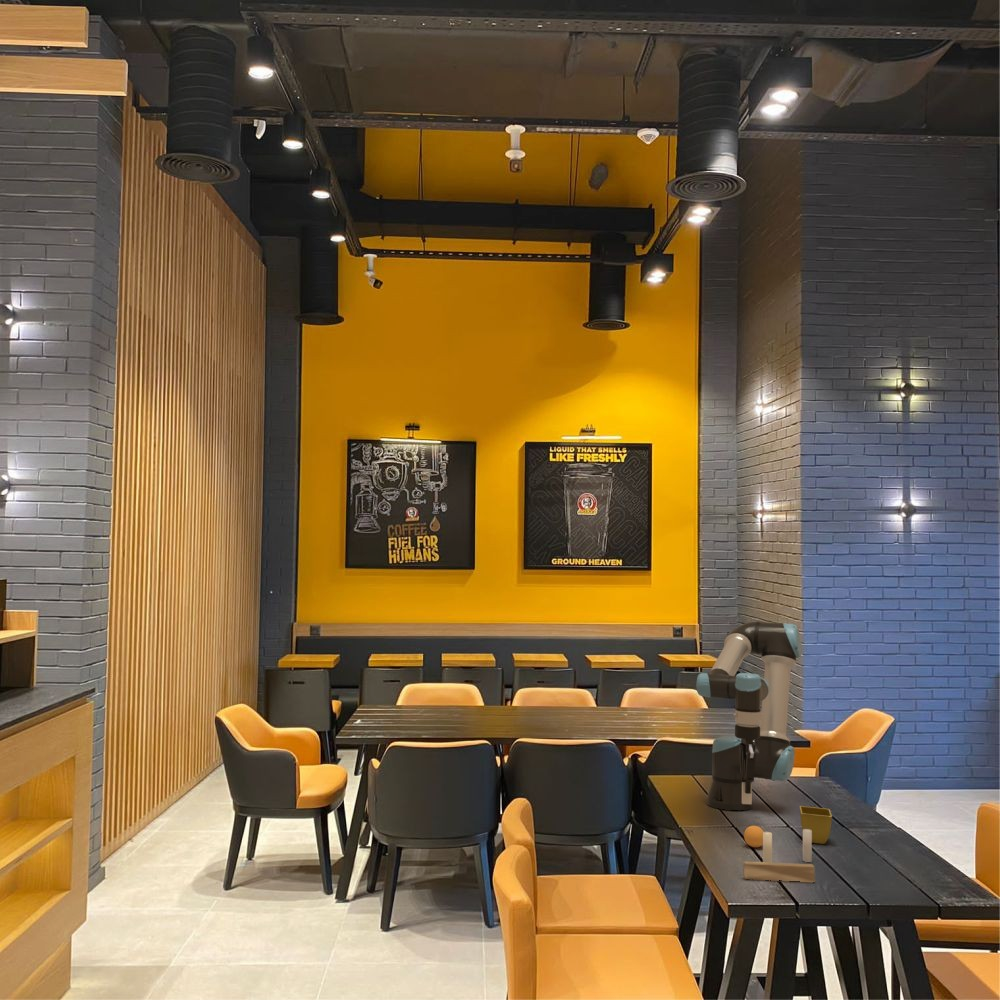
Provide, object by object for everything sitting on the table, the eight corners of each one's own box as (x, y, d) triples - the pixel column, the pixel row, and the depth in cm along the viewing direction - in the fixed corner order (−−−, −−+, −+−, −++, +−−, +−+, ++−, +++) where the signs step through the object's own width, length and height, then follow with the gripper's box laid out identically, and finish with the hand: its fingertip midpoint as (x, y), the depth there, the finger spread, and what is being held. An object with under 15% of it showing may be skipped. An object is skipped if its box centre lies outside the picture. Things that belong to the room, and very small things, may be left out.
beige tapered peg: (801, 859, 253) (801, 828, 254) (810, 860, 253) (810, 829, 254) (804, 862, 251) (804, 831, 251) (812, 862, 251) (812, 831, 251)
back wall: (743, 876, 238) (743, 861, 238) (812, 879, 237) (812, 864, 238) (745, 879, 236) (745, 864, 236) (814, 882, 235) (814, 866, 236)
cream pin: (761, 862, 250) (762, 831, 250) (770, 863, 250) (770, 831, 250) (764, 865, 247) (764, 834, 248) (772, 866, 247) (773, 834, 248)
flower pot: (829, 838, 274) (829, 808, 274) (832, 847, 265) (832, 816, 266) (799, 835, 276) (799, 805, 277) (800, 844, 268) (800, 813, 268)
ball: (741, 843, 267) (742, 822, 267) (762, 844, 266) (762, 823, 267) (746, 849, 261) (746, 828, 261) (767, 850, 260) (767, 829, 261)
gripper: (730, 720, 282) (729, 797, 280) (739, 728, 269) (738, 808, 268) (754, 721, 282) (754, 798, 280) (765, 729, 269) (764, 809, 267)
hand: (746, 803), depth 274 cm, fingers closed
